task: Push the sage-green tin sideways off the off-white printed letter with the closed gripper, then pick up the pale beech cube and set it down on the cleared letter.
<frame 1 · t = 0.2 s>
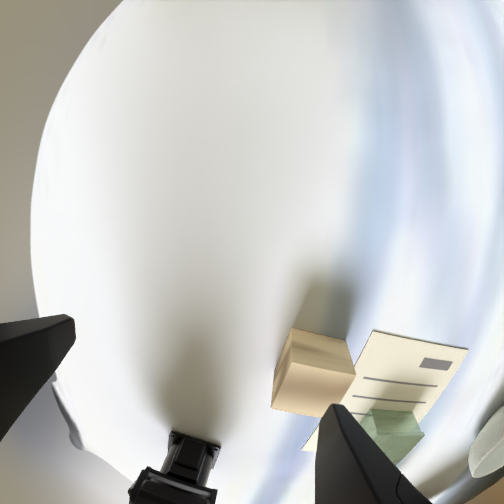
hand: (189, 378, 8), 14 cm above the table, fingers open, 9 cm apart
tin: (379, 427, 25), resting on letter
cereal bowl: (500, 416, 24), on the table
cube: (309, 356, 23), on the table
letter: (385, 409, 24), on the table
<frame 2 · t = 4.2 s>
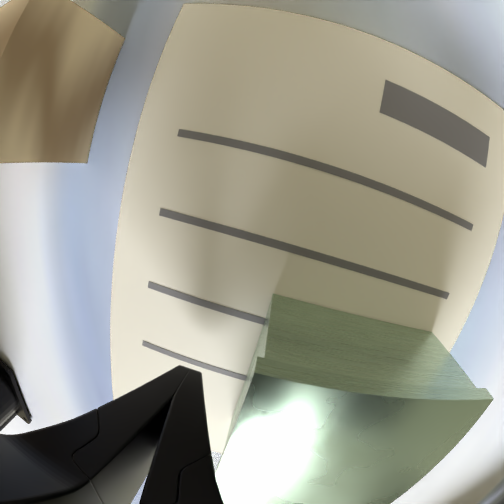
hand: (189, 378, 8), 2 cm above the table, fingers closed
tin: (328, 385, 9), resting on letter, touching gripper
cube: (62, 98, 8), on the table
letter: (303, 300, 9), on the table
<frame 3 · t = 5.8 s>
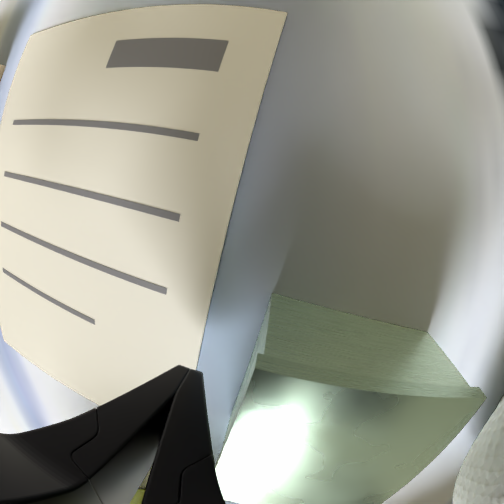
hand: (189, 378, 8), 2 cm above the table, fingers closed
tin: (326, 383, 9), on the table, touching gripper
plant pot: (167, 503, 14), on the table
letter: (62, 226, 9), on the table
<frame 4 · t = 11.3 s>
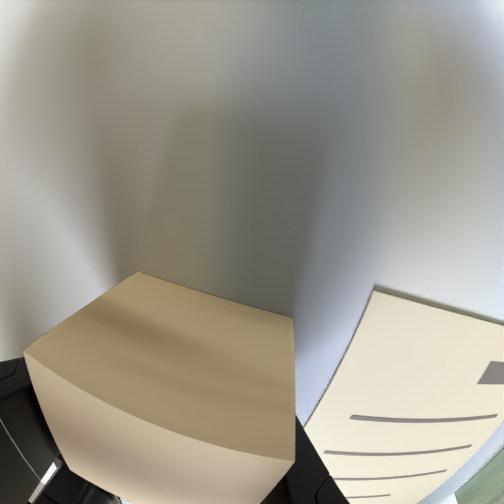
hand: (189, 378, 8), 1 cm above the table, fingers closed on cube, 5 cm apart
tin: (494, 466, 10), on the table
cube: (198, 359, 9), on the table, touching gripper
letter: (396, 467, 10), on the table
when the fingers open (2 cm above the table, at t = 15.3 s): cube drops 1 cm, resting on letter.
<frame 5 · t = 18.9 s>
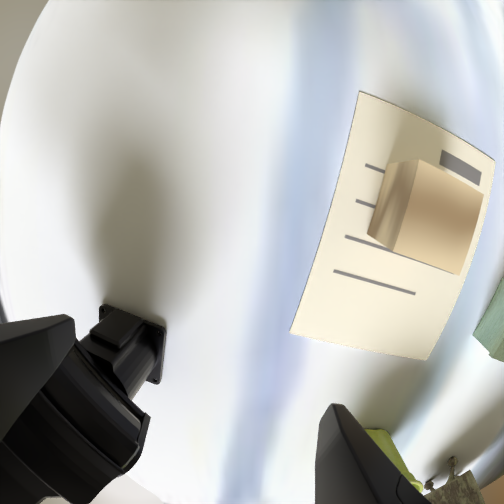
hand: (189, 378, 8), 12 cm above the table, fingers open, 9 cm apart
tin: (501, 314, 18), on the table
plant pot: (362, 442, 23), on the table
cube: (407, 210, 17), resting on letter
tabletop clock: (438, 475, 25), on the table
letter: (410, 242, 18), on the table
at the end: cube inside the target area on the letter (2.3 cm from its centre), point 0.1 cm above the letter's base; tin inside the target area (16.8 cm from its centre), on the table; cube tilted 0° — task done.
